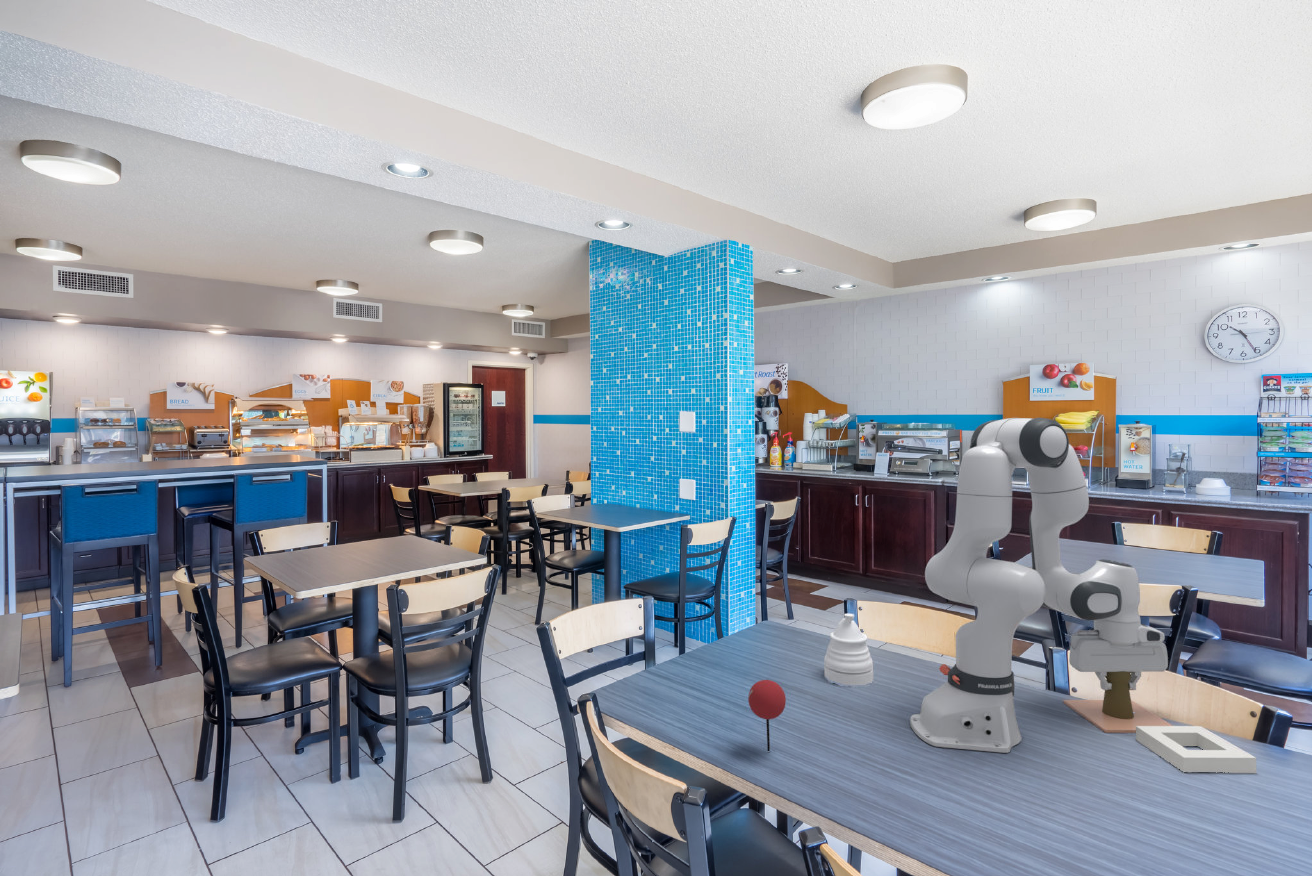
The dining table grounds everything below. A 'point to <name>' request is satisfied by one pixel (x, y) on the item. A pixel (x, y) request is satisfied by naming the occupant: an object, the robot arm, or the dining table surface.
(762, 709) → the lollipop
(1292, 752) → the dining table surface
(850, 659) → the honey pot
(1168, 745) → the frame
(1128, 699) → the olive pawn
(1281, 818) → the dining table surface
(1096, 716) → the terracotta tile
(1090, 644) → the robot arm
